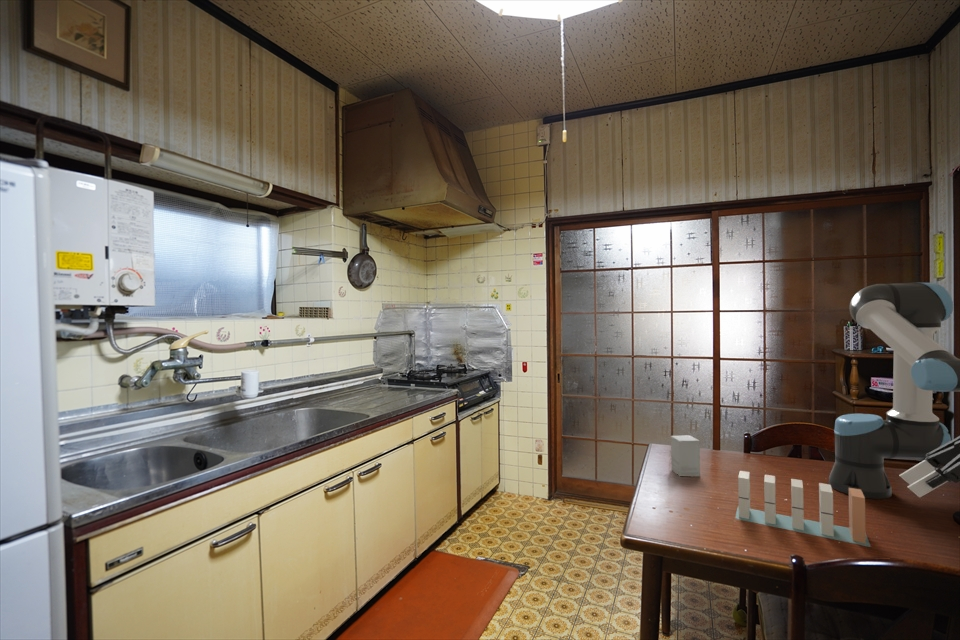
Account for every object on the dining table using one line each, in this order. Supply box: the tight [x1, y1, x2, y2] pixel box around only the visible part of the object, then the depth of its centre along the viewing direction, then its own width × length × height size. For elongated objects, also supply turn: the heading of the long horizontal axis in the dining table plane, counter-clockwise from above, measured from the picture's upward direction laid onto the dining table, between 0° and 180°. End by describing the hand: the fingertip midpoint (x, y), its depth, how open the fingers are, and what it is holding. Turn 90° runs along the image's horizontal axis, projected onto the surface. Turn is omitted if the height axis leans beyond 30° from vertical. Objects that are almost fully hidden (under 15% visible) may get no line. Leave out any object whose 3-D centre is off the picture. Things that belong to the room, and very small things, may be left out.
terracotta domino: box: [848, 488, 867, 543], centre depth 109 cm, size 2×6×11 cm, turn 146°
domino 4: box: [818, 482, 834, 537], centre depth 113 cm, size 2×6×11 cm, turn 146°
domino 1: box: [737, 470, 751, 519], centre depth 123 cm, size 2×6×11 cm, turn 146°
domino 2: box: [763, 474, 777, 525], centre depth 120 cm, size 2×6×11 cm, turn 146°
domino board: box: [734, 505, 872, 548], centre depth 116 cm, size 28×9×1 cm, turn 56°
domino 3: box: [790, 478, 805, 530], centre depth 116 cm, size 2×6×11 cm, turn 146°
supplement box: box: [670, 434, 701, 477], centre depth 157 cm, size 7×7×13 cm
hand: (909, 485), depth 104 cm, fingers open, 8 cm apart
